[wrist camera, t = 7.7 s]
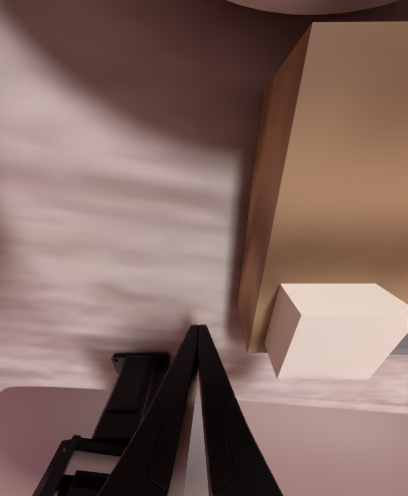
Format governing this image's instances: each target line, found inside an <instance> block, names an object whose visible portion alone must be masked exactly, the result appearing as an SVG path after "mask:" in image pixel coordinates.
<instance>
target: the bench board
mask: <svg viewBox="0 0 408 496" xmlns="http://www.w3.org/2000/svg"><path fill="white" fill-rule="evenodd" d="M280 284H377V285H378V286H380V287H382V288H383V289H385V290H386V291H388V292H389V293H391V294H392V295H394V296H395V297H397V298H398V299H400V300H402V301H403V302H405V303H406V304H408V21H405V22H312V24H311V25H310V27H309V28H308V29H307V31H306V32H305V33H304V35H303V36H302V38H301V39H300V40H299V42H298V43H297V45H296V46H295V47H294V49H293V50H292V51H291V53H290V54H289V56H288V57H287V58H286V60H285V61H284V63H283V64H282V65H281V67H280V68H279V70H278V71H277V72H276V74H275V75H274V76H273V78H272V79H271V81H270V82H269V83H268V85H267V86H266V88H265V89H264V90H263V96H262V104H261V113H260V121H259V129H258V138H257V146H256V154H255V162H254V171H253V179H252V187H251V195H250V204H249V212H248V220H247V229H246V237H245V245H244V253H243V262H242V270H241V278H240V286H239V295H238V303H237V310H238V314H239V318H240V322H241V327H242V331H243V335H244V339H245V343H246V347H247V352H248V353H268V352H267V349H266V346H265V340H266V336H267V332H268V328H269V324H270V321H271V317H272V313H273V309H274V305H275V302H276V298H277V294H278V290H279V286H280ZM407 335H408V333H407V334H406V336H407ZM406 336H405V337H406ZM405 337H404V338H405ZM404 338H403V339H404ZM403 339H402V340H403ZM402 340H401V341H402ZM401 341H400V343H401ZM400 343H399V344H400ZM399 344H398V345H399ZM398 345H397V346H398ZM397 346H396V347H397ZM396 347H395V348H396ZM395 348H394V350H395ZM394 350H393V351H394ZM393 351H392V352H393ZM392 352H391V353H392Z"/></svg>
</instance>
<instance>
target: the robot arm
mask: <svg viewBox="0 0 408 496" xmlns="http://www.w3.org/2000/svg"><path fill="white" fill-rule="evenodd" d="M111 360H112V362H113V365H114V367H115V369H116V371H117V373H118V377H117V379H116V381H115V384H114V386H113V388H112V391H111V393H110V395H109V398H108V400H107V402H106V405H105V407H104V410H103V412H102V414H101V416H100V419H99V421H98V424H97V426H96V428H95V431H94V433H93V435H92V438H91V439H87V438H81V436H80V435H74V436H73V437H72V439H70V440H64V441H62V442H61V444H60V446H59V448H58V450H57V451H56V453H55V455H54V457H53V459H52V461H51V463H50V465H49V466H48V468H47V470H46V472H45V474H44V476H43V477H42V479H41V481H40V483H39V485H38V486H37V488H36V490H35V492H34V493H33V495H32V496H183V494H184V486H185V477H186V469H187V460H188V452H189V445H190V436H191V428H192V420H193V411H194V403H195V395H196V386H197V378H198V367H199V382H200V394H201V406H202V418H203V430H204V442H205V454H206V465H207V478H208V489H209V496H283V494H282V492H281V490H280V489H279V486H278V484H277V482H276V481H275V479H274V477H273V475H272V473H271V471H270V469H269V467H268V465H267V463H266V461H265V459H264V457H263V455H262V453H261V451H260V449H259V447H258V445H257V443H256V441H255V439H254V437H253V435H252V433H251V431H250V429H249V427H248V425H247V423H246V420H245V418H244V416H243V413H242V411H241V409H240V407H239V404H238V401H237V399H236V397H235V394H234V392H233V389H232V387H231V384H230V382H229V380H228V377H227V375H226V372H225V370H224V367H223V365H222V362H221V360H220V357H219V355H218V352H217V350H216V347H215V345H214V343H213V340H212V338H211V335H210V333H209V330H208V328H207V326H206V325H191V326H190V328H189V330H188V332H187V334H186V336H185V338H184V340H183V342H182V344H181V346H180V348H179V350H178V352H177V354H176V356H175V358H174V360H173V361H172V358H171V355H170V354H114V355H113V357H112V359H111ZM68 466H74V467H82V468H90V469H98V470H107V471H112V472H111V474H105V473H97V472H88V471H80V470H77V471H76V473H75V475H66V474H65V472H66V470H67V468H68Z"/></svg>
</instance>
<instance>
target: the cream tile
mask: <svg viewBox="0 0 408 496" xmlns="http://www.w3.org/2000/svg"><path fill="white" fill-rule="evenodd" d="M407 333H408V304H406V303H405V302H403V301H402V300H400V299H398V298H397V297H395V296H394V295H392V294H391V293H389V292H388V291H386V290H385V289H383V288H382V287H380V286H378V285H377V284H280V286H279V290H278V294H277V298H276V302H275V305H274V309H273V313H272V317H271V321H270V324H269V328H268V332H267V336H266V340H265V346H266V349H267V352H268V355H269V358H270V361H271V363H272V366H273V369H274V372H275V375H276V378H277V379H369V377H370V376H371V375H372V374H373V373H374V372H375V371H376V369H377V368H378V367H379V366H380V365H381V364H382V362H383V361H384V360H385V359H386V358H387V357H388V355H389V354H390V353H391V352H392V351H393V350H394V348H395V347H396V346H397V345H398V344H399V343H400V341H401V340H402V339H403V338H404V337H405V336H406V334H407Z"/></svg>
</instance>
